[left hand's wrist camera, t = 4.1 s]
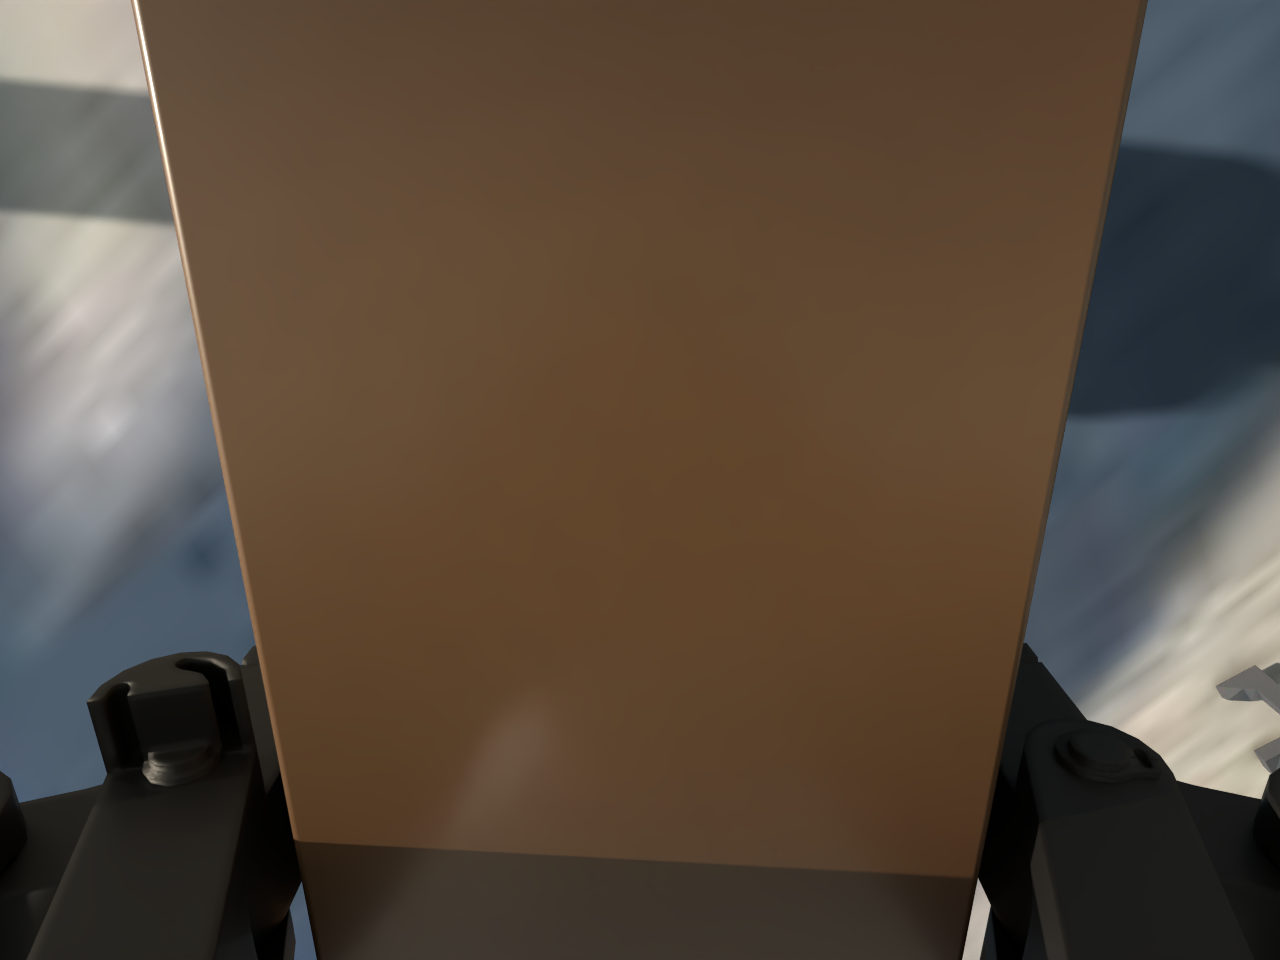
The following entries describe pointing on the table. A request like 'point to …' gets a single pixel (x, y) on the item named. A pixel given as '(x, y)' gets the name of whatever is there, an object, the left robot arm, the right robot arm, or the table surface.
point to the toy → (1255, 688)
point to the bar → (639, 444)
